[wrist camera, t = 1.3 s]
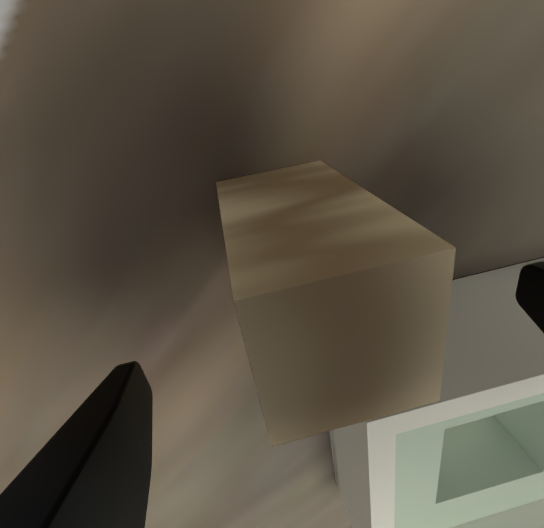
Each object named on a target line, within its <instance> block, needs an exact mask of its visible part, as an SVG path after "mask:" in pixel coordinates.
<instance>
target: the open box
mask: <svg viewBox="0 0 544 528" xmlns="http://www.w3.org/2000/svg"><path fill="white" fill-rule="evenodd" d="M540 261H544V258H540V259H536V260H532V261H528V262H524V263H520V264H516V265H512V266H508V267H504V268H500V269H496V270H492V271H488V272H484V273H480V274H475V275H471V276H467V277H463V278H459V279H455V280H452V289H451V299H450V308H449V317H448V327H447V336H446V345H445V355H444V364H443V373H442V383H441V392H440V401H436V402H432V403H429V404H425V405H422V406H418V407H414V408H411V409H407V410H404V411H400V412H396V413H393V414H389V415H385V416H382V417H378V418H375V419H371V420H367V421H364V422H360V423H356V424H353V425H349V426H346V427H342V428H338V429H335V430H331V431H329V435H330V443H331V451H332V458H333V466H334V474H335V481H336V484H337V487H338V490H339V493H340V496H341V499H342V502H343V505H344V508H345V511H346V514H347V517H348V520H349V523H350V526H351V528H544V333H543V332H542V331H541V330H540V329H539V327H538V326H537V325H536V324H535V323H534V322H533V321H532V319H531V318H530V317H529V316H528V315H527V314H526V312H525V311H524V310H523V309H522V308H521V307H520V305H519V304H518V302H517V300H516V296H515V293H516V288H517V284H518V279H519V274H520V270H521V269H522V267H523V266H525V265H527V264H531V263H535V262H540Z"/></svg>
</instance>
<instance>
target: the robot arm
mask: <svg viewBox="0 0 544 528" xmlns="http://www.w3.org/2000/svg"><path fill="white" fill-rule="evenodd" d="M515 296H516V300H517V302H518V304H519V305H520V307H521V308H522V309H523V310H524V311H525V312H526V314H527V315H528V316H529V317H530V318H531V319H532V321H533V322H534V323H535V324H536V325H537V326H538V327H539V329H540V330H541V331H542V332H543V333H544V261H540V262H535V263H531V264H527V265H525V266H523V267H522V269H521V270H520V274H519V279H518V284H517V288H516V293H515ZM151 467H152V390H151V387H150V385H149V383H148V381H147V378H146V376H145V374H144V372H143V370H142V368H141V366H140V364H139V363H138V362H136V361H132V362H128V363H124V364H120V365H118V366H116V367H115V368H114V369H113V370H112V371H111V372H110V374H109V375H108V376H107V377H106V378H105V379H104V380H103V381H102V382H101V384H100V385H99V386H98V387H97V388H96V389H95V390H94V391H93V392H92V394H91V395H90V396H89V397H88V398H87V399H86V400H85V401H84V402H83V403H82V405H81V406H80V407H79V408H78V409H77V410H76V411H75V412H74V413H73V415H72V416H71V417H70V418H69V419H68V420H67V421H66V422H65V423H64V425H63V426H62V427H61V428H60V429H59V430H58V431H57V432H56V433H55V434H54V436H53V437H52V438H51V439H50V440H49V441H48V442H47V443H46V444H45V446H44V447H43V448H42V449H41V450H40V451H39V452H38V453H37V454H36V456H35V457H34V458H33V459H32V460H31V461H30V462H29V463H28V464H27V465H26V467H25V468H24V469H23V470H22V471H21V472H20V473H19V474H18V475H17V477H16V478H15V479H14V480H13V481H12V482H11V483H10V484H9V485H8V487H7V488H6V489H5V490H4V491H3V492H2V493H1V494H0V528H145V520H146V511H147V503H148V495H149V487H150V478H151Z"/></svg>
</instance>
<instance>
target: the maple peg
mask: <svg viewBox="0 0 544 528" xmlns="http://www.w3.org/2000/svg"><path fill="white" fill-rule="evenodd" d="M216 187H217V194H218V200H219V207H220V214H221V221H222V227H223V234H224V241H225V248H226V254H227V261H228V268H229V275H230V281H231V288H232V295H233V301H234V305H235V309H236V313H237V317H238V320H239V324H240V328H241V332H242V335H243V339H244V343H245V347H246V351H247V354H248V358H249V362H250V366H251V370H252V373H253V377H254V381H255V385H256V389H257V392H258V396H259V400H260V404H261V408H262V411H263V415H264V419H265V423H266V427H267V430H268V434H269V438H270V442H271V446H272V447H273V446H277V445H280V444H284V443H288V442H291V441H295V440H299V439H302V438H306V437H309V436H313V435H317V434H320V433H324V432H328V431H331V430H335V429H338V428H342V427H346V426H349V425H353V424H356V423H360V422H364V421H367V420H371V419H375V418H378V417H382V416H385V415H389V414H393V413H396V412H400V411H404V410H407V409H411V408H414V407H418V406H422V405H425V404H429V403H432V402H436V401H440V392H441V383H442V373H443V364H444V355H445V345H446V336H447V327H448V317H449V308H450V299H451V289H452V280H453V271H454V262H455V252H456V247H454V246H453V245H451V244H449V243H448V242H446V241H445V240H443V239H442V238H440V237H439V236H437V235H435V234H434V233H432V232H431V231H429V230H428V229H426V228H425V227H423V226H421V225H420V224H418V223H417V222H415V221H414V220H412V219H411V218H409V217H407V216H406V215H404V214H403V213H401V212H400V211H398V210H397V209H395V208H393V207H392V206H390V205H389V204H387V203H386V202H384V201H383V200H381V199H379V198H378V197H376V196H375V195H373V194H372V193H370V192H369V191H367V190H365V189H364V188H362V187H361V186H359V185H358V184H356V183H355V182H353V181H351V180H350V179H348V178H347V177H345V176H344V175H342V174H341V173H339V172H337V171H336V170H334V169H333V168H331V167H330V166H328V165H326V164H325V163H323V162H322V161H320V160H319V161H315V162H310V163H305V164H300V165H295V166H291V167H286V168H281V169H276V170H272V171H267V172H262V173H257V174H253V175H248V176H243V177H238V178H233V179H229V180H224V181H219V182H216Z"/></svg>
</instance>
